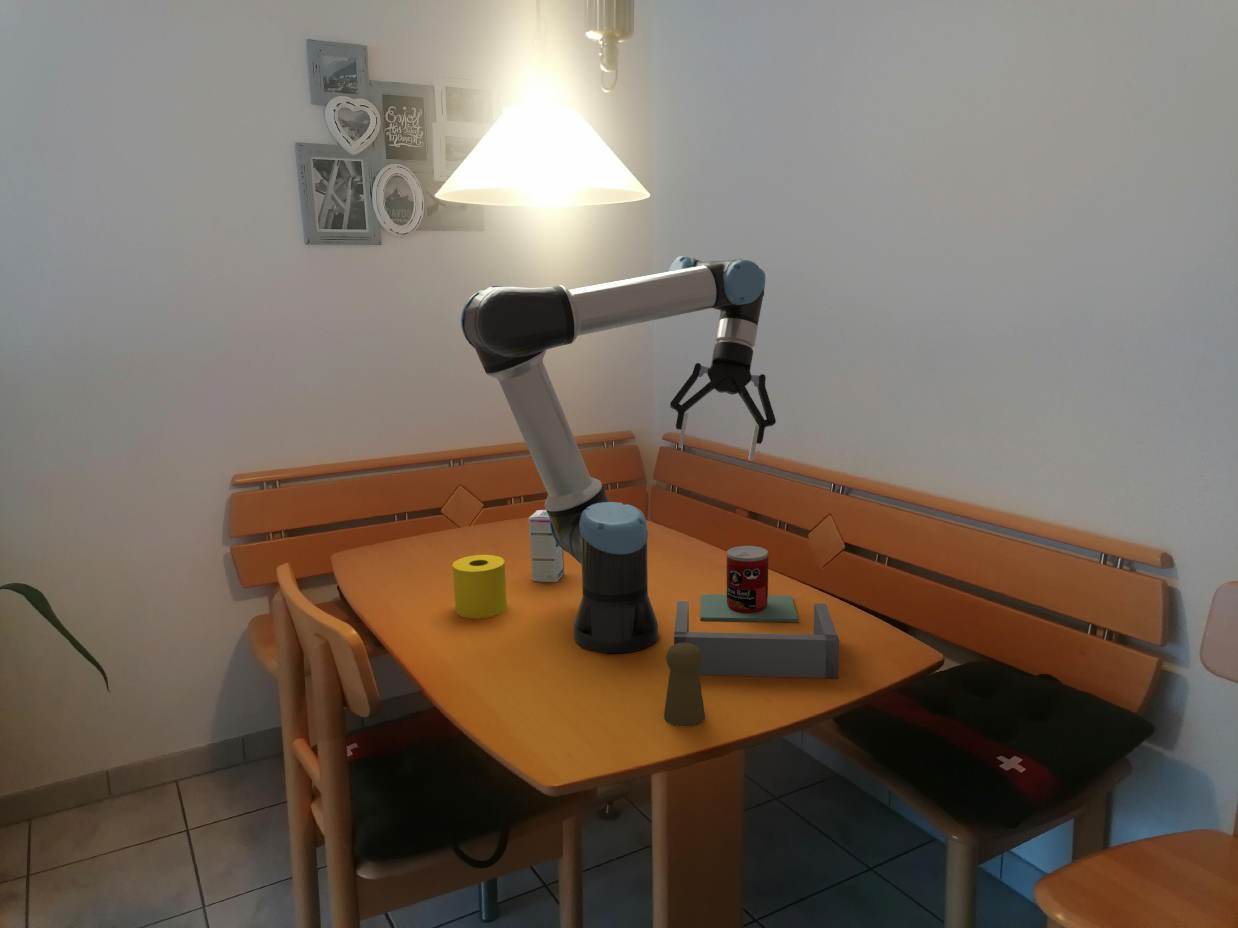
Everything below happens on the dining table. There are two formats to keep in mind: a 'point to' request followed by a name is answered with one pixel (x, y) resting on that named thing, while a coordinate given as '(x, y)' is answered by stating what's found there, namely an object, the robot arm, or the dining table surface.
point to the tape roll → (479, 586)
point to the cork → (684, 686)
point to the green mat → (775, 611)
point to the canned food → (747, 579)
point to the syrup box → (544, 549)
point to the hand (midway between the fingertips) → (715, 453)
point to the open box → (765, 649)
